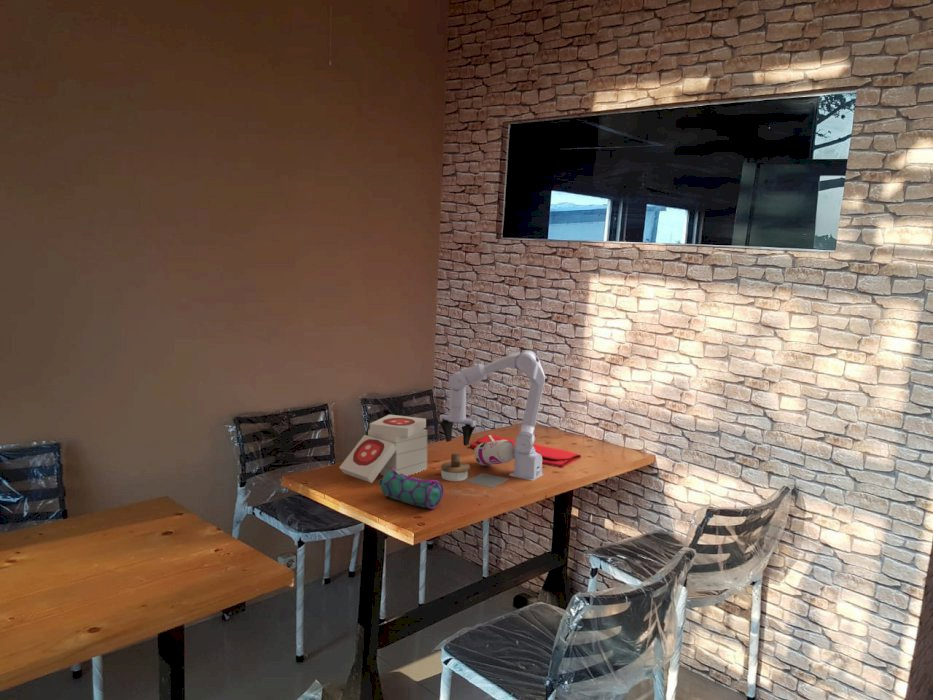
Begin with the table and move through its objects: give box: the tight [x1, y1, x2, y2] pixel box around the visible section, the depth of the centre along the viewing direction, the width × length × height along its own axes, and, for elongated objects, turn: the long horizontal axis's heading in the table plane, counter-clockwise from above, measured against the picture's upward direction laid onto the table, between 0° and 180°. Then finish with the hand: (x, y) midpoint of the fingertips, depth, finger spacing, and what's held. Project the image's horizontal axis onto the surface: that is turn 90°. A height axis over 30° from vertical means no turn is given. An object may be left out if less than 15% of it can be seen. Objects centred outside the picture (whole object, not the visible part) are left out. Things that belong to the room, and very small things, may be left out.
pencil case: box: [377, 468, 444, 510], centre depth 229 cm, size 21×9×10 cm, turn 53°
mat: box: [465, 472, 510, 489], centre depth 250 cm, size 11×11×1 cm
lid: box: [440, 453, 471, 473], centre depth 252 cm, size 10×10×5 cm
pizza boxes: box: [339, 413, 428, 484], centre depth 255 cm, size 19×30×18 cm, turn 138°
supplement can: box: [474, 440, 515, 467], centre depth 262 cm, size 8×8×15 cm
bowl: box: [441, 469, 469, 482], centre depth 253 cm, size 9×9×4 cm
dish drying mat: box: [470, 433, 582, 468], centre depth 284 cm, size 16×41×4 cm, turn 56°
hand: (457, 443), depth 260 cm, fingers open, 7 cm apart
